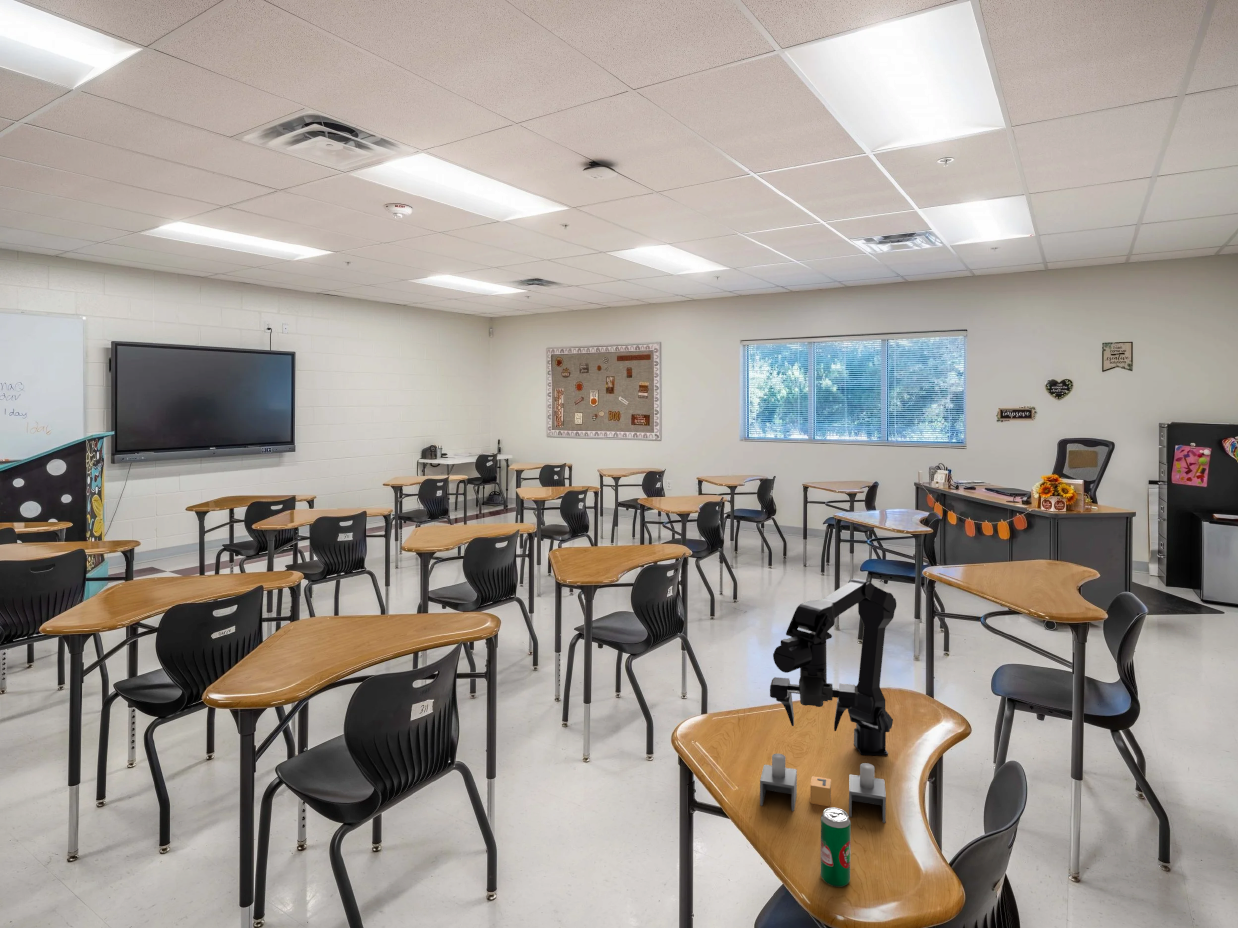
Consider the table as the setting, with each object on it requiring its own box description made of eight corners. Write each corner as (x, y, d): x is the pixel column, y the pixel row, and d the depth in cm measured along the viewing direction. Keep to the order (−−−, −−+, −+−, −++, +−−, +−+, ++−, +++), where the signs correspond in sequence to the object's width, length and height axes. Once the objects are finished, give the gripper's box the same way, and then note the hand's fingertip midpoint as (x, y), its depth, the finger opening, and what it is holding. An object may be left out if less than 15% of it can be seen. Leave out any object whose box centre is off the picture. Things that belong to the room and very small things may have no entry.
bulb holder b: (796, 793, 149) (796, 751, 148) (793, 811, 142) (794, 766, 142) (764, 788, 151) (764, 746, 151) (760, 805, 145) (760, 761, 144)
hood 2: (884, 804, 144) (884, 760, 144) (885, 822, 138) (886, 777, 137) (849, 798, 147) (849, 755, 146) (848, 816, 140) (849, 772, 139)
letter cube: (830, 796, 148) (831, 778, 147) (829, 806, 144) (830, 787, 144) (811, 793, 149) (811, 775, 149) (810, 803, 145) (810, 784, 145)
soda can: (816, 870, 124) (816, 806, 123) (843, 868, 124) (843, 805, 123) (826, 889, 118) (827, 823, 118) (855, 887, 119) (855, 821, 118)
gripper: (766, 669, 148) (767, 739, 149) (857, 678, 142) (857, 750, 143) (772, 652, 159) (773, 717, 160) (857, 659, 152) (857, 726, 154)
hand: (813, 727), depth 154 cm, fingers open, 9 cm apart
